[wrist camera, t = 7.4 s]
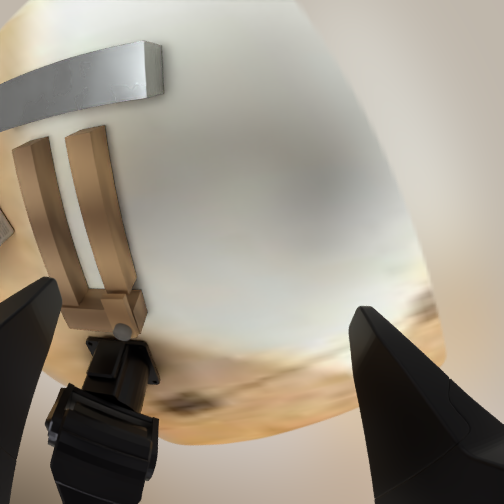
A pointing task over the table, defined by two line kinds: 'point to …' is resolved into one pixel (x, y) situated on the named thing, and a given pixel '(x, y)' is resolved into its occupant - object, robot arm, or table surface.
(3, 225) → the coffee box
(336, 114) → the table surface
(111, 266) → the bar
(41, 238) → the base
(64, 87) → the grey bracket bar
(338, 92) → the table surface
